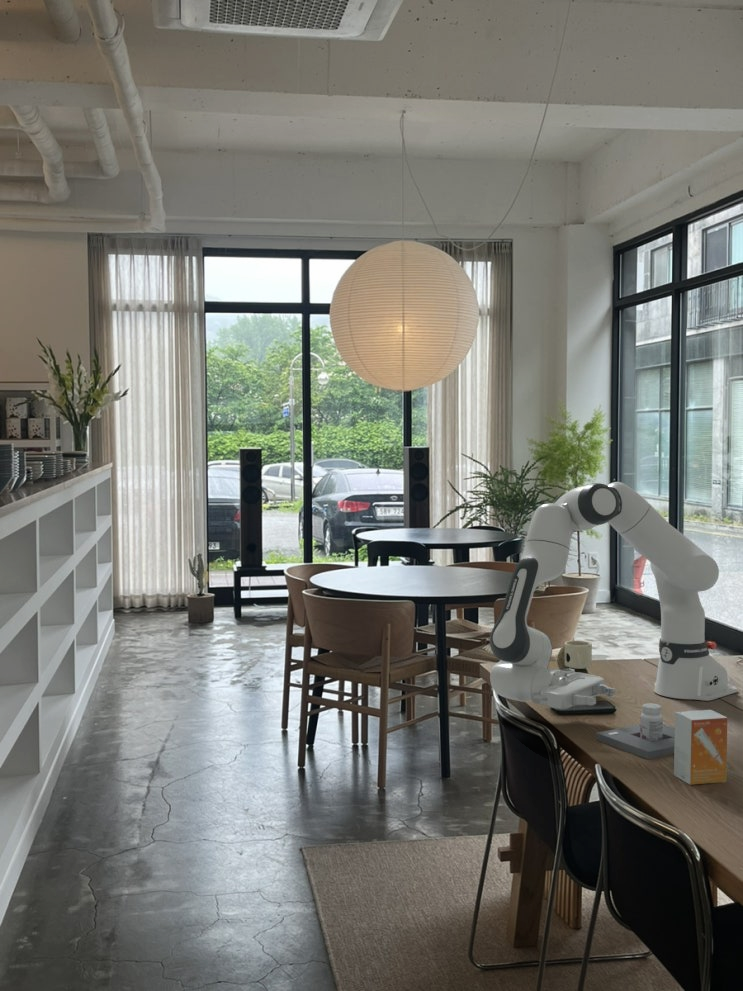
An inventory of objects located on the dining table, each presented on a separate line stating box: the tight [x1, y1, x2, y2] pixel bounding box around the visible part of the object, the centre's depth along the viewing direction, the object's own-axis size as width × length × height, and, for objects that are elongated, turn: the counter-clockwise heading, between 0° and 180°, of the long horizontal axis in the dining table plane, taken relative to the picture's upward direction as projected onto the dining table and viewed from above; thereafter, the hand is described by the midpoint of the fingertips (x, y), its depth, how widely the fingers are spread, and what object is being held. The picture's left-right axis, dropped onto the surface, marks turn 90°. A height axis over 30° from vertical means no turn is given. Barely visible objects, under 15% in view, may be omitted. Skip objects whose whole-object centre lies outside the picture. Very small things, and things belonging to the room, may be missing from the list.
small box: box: [673, 709, 728, 786], centre depth 196 cm, size 8×6×13 cm
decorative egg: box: [556, 643, 570, 670], centre depth 284 cm, size 7×7×10 cm
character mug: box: [564, 640, 593, 674], centre depth 266 cm, size 11×7×13 cm, turn 171°
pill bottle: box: [640, 702, 664, 742], centre depth 219 cm, size 5×5×8 cm
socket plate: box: [595, 723, 675, 760], centre depth 219 cm, size 18×16×2 cm
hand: (604, 697), depth 227 cm, fingers open, 8 cm apart
